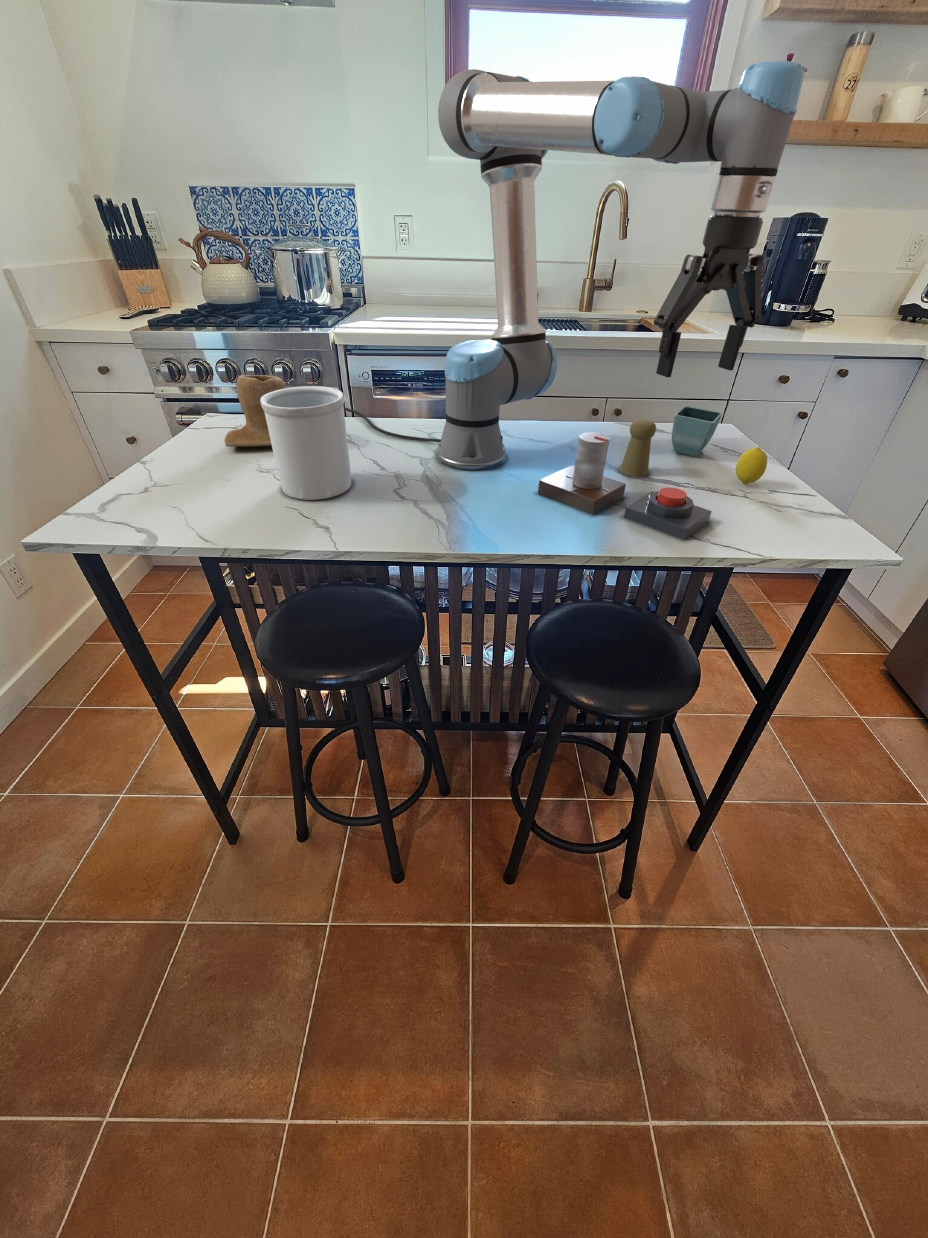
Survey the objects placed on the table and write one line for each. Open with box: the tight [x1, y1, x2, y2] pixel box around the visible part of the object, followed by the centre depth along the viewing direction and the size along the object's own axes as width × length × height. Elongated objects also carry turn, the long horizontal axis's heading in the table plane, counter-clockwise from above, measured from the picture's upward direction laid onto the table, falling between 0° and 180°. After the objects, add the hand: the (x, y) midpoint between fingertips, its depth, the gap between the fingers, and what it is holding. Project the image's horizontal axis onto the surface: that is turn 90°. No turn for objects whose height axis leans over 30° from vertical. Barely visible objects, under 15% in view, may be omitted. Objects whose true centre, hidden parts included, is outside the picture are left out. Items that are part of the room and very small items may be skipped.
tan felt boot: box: [223, 374, 286, 448], centre depth 125 cm, size 15×12×15 cm
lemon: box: [735, 446, 768, 486], centre depth 113 cm, size 6×6×8 cm
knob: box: [573, 431, 611, 489], centre depth 104 cm, size 6×6×9 cm
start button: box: [657, 486, 688, 507], centre depth 99 cm, size 5×5×2 cm
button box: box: [623, 490, 712, 541], centre depth 101 cm, size 12×10×4 cm
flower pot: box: [671, 405, 723, 458], centre depth 127 cm, size 9×9×9 cm
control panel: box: [537, 464, 627, 516], centre depth 108 cm, size 13×11×3 cm
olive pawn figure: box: [619, 418, 657, 478], centre depth 116 cm, size 6×6×11 cm
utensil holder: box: [260, 385, 352, 501], centre depth 105 cm, size 15×15×18 cm
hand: (695, 371), depth 92 cm, fingers open, 13 cm apart
